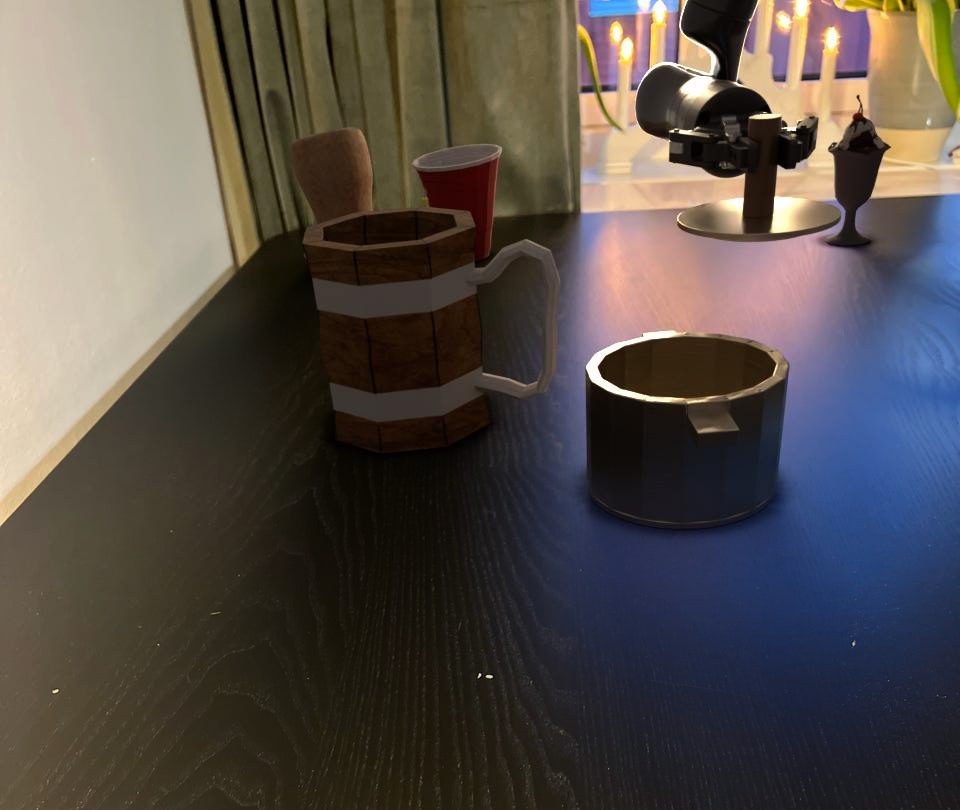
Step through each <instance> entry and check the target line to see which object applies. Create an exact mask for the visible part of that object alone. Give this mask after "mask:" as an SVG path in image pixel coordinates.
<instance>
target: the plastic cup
mask: <svg viewBox="0 0 960 810" xmlns="http://www.w3.org/2000/svg"><path fill="white" fill-rule="evenodd" d="M502 151H503V147H501V146H500V145H498V144H491V143H480V144H479V143H477V144H466V145H459V146H452V147H448V148H443V149H439V150H435V151H432V152H430V153H426V154H423V155H421V156H419V157H417V158H415V159H414V160H413V162H412V163H411V165H412V167H413V169H415V171H416V173H417V174H418V177H419V180H420V181H421V184H422V188H423V189H424V191H425V190H427V195H426V198H428V207H432V208H442V209H452V210H461V211H470V213H471V215H472V218H473V221H474V223H475V226H476V233H475V261H474V262H478V261H481V260H485V259H486V258H488V257H489V256H490V251H491V248H492V233H493V226H494V217H495V216H494V215H495V204H496V203H495V202H496V188H497V187H496V186H497V179H498V168H499V161H500V156H501V155H502Z"/></svg>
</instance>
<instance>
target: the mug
mask: <svg viewBox="0 0 960 810" xmlns="http://www.w3.org/2000/svg"><path fill="white" fill-rule="evenodd" d="M475 233H476V226H475V223H474V221H473V218H472V215H471V213H470V211H461V210H452V209H442V208H432V207H429V206H428V207H423V206H422V205H418V206H409V207H399V208H389V209H377V210H372V211H367V212H357V213H352V214H349V215H346V216H343V217H339V218H336V219H333V220H330V221H326V222H323V223H320V224H318V223H317V224H313V225H310V226H307V227H305V232H304V236H303V239H302V243H301V244H302V248H303V251H304V253H305V255H306V259H305V260H306V261H307V265H308V268H309V272H310V276H311V279H312V286H313V291H314V297H315V303H316V309H317V322H318V334H319V346H320V351H321V355H322V358H323V363H324V367H325V371H326V376H327V379H328V383H329V390H330V395H331V401H332V407H333V419H334V424H333V425H334V440H335V441H337V442H342V443H345V444H348V445H351V446H355V447H357V448H362V449H364V450H368V451H371V452H375V453H378V454H390V453H398V452H407V451H408V452H409V451H416V450H427V449H437V448H445V447H446V448H447V447H450V446H451V445H453V444H455V443H456V442H458V441H460V440H462V439H463V438H465V437H468V436H469V435H471V434H472V433H473V434H474V432H476V431H478V430H480V429H482V428H484V427H486V426H488V425H489V424H491V423H490V418H489V412H488V407H487V402H486V396H485V392H486V393H490V394H496V395H500V396H503V397H507V398H511V399H512V400H513V399H514V400H517V401H520V402H525V401H528V400H530V399H534V398H536V397H539V396H542V395H543V394H545V393H547V391H548V389H549V386H550V384H551V383H552V381H553V379H554V377H555V375H556V372H557V366H558V347H559V346H558V345H559V339H558V338H559V337H558V335H559V330H558V329H559V327H558V316H559V315H558V313H559V302H560V289H561V277H560V275H559V271H558V268H557V265H556V262H555V259H554V256H553V253H552V250H551V249H549V248H547V247H545V246H542V245H541V244H539V243H536V242H534V241H531V240H529V239H527V238H526V239H522V240H519V241H517V242H514V243H511V244H509V245H506V246H504V247H502V248H501V249H500V250H499V252H497V254H496V255H495V256H494V257H493V258H492V259H491V260H490V262H489V263H488V264H487V265H485V266H484V267H476V264H475V263H476V261H475ZM522 256H523V257H525V258H528V259H530V260H531V261H532V260H533V261H534V262H536V263H539V267H540V272H541V275H542V280H543V283H544V288H545V291H544V299H543V307H542V317H541V343H542V344H541V349H542V351H541V352H542V353H541V354H542V357H541V358H542V363H541V364H542V367H541V370H540V373H539V376H538V378H537V380H536V381H535V382H532V383H529V384H524V383H523V382H519V381H518V380H515V379H512V378H509V377H505V376H499V375H495V374H491V373H486V372H483V341H484V338H483V337H484V329H483V322H482V317H481V310H480V305H479V297H478V290H477V285H485V284H489V283H492V282H493V281H495V280H496V279H497V278H499V277H500V276H501V275H502V273H503V272H504V271H505V270H506V268H507V267H508V266H509V264H510V263H511V262H512V261H514V260H516V259H518V258H520V257H522Z"/></svg>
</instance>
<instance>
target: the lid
mask: <svg viewBox="0 0 960 810" xmlns="http://www.w3.org/2000/svg"><path fill="white" fill-rule="evenodd" d="M782 120H783V115H782V114H779V113H772V114H760V115H753V116H750V117H749V122H748V137H747V138H749V139H751V140H753V141H755V142H756V143H757V144H758V155H757V168H756V172H755V173H745V174H744V183H743V196H742V197H741V198H732V199H723V200H717V201H711V202H707V203H702V204H699V205H695V206H692V207H689V208H687V209H685V210H684V211H682V212H680V213H679V214H678V215H677V217H676V226H677V228H678V229H680V230H681V231H683V232H685V233H687V234H689V235H693V236H696V237H702V238H707V239H713V240H718V241H725V242H733V243H735V242H737V243H765V242H767V243H768V242H778V241H785V240H790V239H795V238H799V237H803V236H808V235H813V234H818V233H820V232H824V231H827V230H830V229H831V228H833V227H835V226H837V225H838V224H839V223H840V221H841V220H842V210H841V209H840V208H839V207H838V206H835V205H834V204H831V203H828V202H824V201H821V200H816V199H809V198H799V197H788V196H787V197H785V196H776V190H777V177H778V169H779V168H778V167H779V165H778V156H779V144H780V132H781V121H782Z"/></svg>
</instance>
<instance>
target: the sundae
mask: <svg viewBox="0 0 960 810" xmlns="http://www.w3.org/2000/svg"><path fill="white" fill-rule="evenodd" d="M860 96H861V95H860V94H857V95H856V99H857V101H858V103H859V108H858V111H857V112H854V114H853V115H852V116H851V122H849V123H848V125H847V126H846V127H845V128H844V131H843V134H842V137H841V139H840V140H838V141H833V142H832V143H831V144H830V145H829V146H828V147H827V152H828V153H830V154H832V156H833V170H834V171H833V172H834V173H833V187H834V188H833V189H834V198H835V200H836V201H837V202H838V204H839V205H840V206H841V207H842V208H843V209H844V211H845V212H844V219H843V224H842V226H841V229H840V230H839V231H838V233H834V234H832V235H828V236H826V238H825V239H824V241H825V242H826V243H827V244H830V245H834V246H845V247H846V246H847V247H849V246H859V245H864V244H866V243H867V244H868V242H869V241H870V240H871V239H870V237H869V236H867V235H865V234H861V233H859V231H858V230H857V227H856V217H857V211H858V210H859V208H861V207H862V206H864V204H866V203H867V202H868V201H869V199H870V198H872V195H873V191H874V188H875V186H876V182H877V179H878V175H879V171H880V167H881V164H882V161H883V158H884V154H885V153H886V152H887V151H889V150H890V149H891V148H892V145H890V144H889V143H887V142H885V141H884V140H883V139H882V138H881V137H880V136H879V134H878V132H877V130H876V126H875V124H874V123H873V121H872V120H871V119H869V118H866V117H865V116H864V107H863V104H862V103H863V102H862V101H861V98H860Z"/></svg>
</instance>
